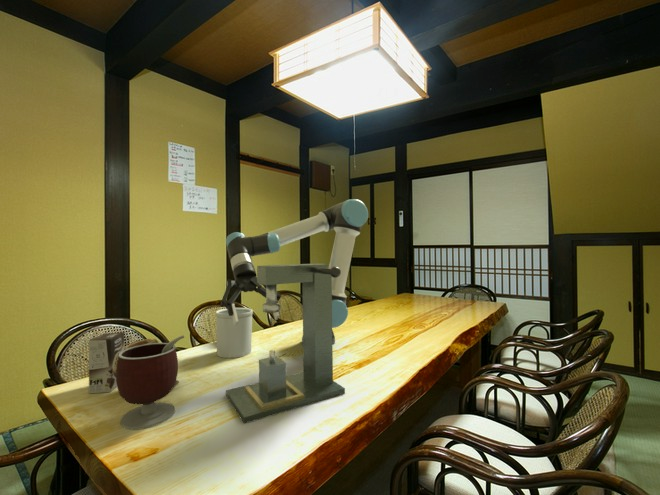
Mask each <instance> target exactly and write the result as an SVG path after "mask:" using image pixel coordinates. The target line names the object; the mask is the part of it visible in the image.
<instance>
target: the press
mask: <svg viewBox="0 0 660 495" xmlns="http://www.w3.org/2000/svg"><path fill="white" fill-rule="evenodd" d="M328 268H329V264H328V263H301V264H300V263H295V264H293V263H291V264H271V265H269V264H268V265H257V266H256V275H257V283H259V284H263V285H266V298H265V299H266V301H265V303H263V304H262V313H264V314H265V313H266V314H268V313H269V314H273V313H275V312H279V313H280V312H281V303H279V302H278V301H277V291H278V288H277V285H283V284H285V285H287V284H299V283H301V285H302V287H301V288H302V289H301V290H302V336H303V344H302V349H303V350H302V353H303V354H302V355H303V357H302V358H303V359H302V361H303V363H302V364H303V365H302V366H303V371H301V372H298V373H293V374H289V375H286V395H284V396H280V397H277V398H273V399H269V400H268V399H267V398H266V397H265V396H264V395H263V394H262V393H261V392H260V391H259V382H255V383H251V384H248V385H244V386H243V385H242V386H239V387H235V388H231V389H227V390H225V396H226V398H227V399H228V401H229V402H230V405H231V406H232V407H233V409H234V410H235V411H236V414H238V416H239V417H240V419H241V421H242V422H243V423H244V424H247V423H248V424H249V423H250V422H254V421H257V420H261V419H265V418H268V417H270V416H274V415H277V414H280V413H281V414H282V413H284V412H287V411H291V410H293V409H297V408H301V407H305V406H308V405H310V404H314V403H318V402H321V401H323V400H327V399H331V398H333V397H337V396H340V395H341V396H342V395H344V394H346V392H345V391H346V388H345V387H344V386H342V385H340V384H339V383H337V382H336V381H334V377H333V376H334V372H333V370H334V369H333V368H334V367H333V366H334V363H333V360H334V359H333V353H334V352H333V351H334V350H333V345H332V330H333V328H332V277H334V278H337V277H339V276H340V274H341V270H340V268H338V267H332V268H331V269H328ZM263 285H262V286H263ZM277 302H278V303H277Z"/></svg>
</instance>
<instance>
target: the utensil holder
mask: <svg viewBox="0 0 660 495" xmlns="http://www.w3.org/2000/svg"><path fill="white" fill-rule="evenodd" d="M235 309H236V313H237V317H238V324H237V326H234V323H233V318H232V316H229V314H228V310H227V309H226V308H223V309H222V308H221V309H218V310H216V311H215V316H216V317H215V318H216V321H215V324H216V333H215V334H216V354H217V356H218V357H219V358H224V359H235V358H236V359H237V358H240V357H245V356H248V355H250V354H251V352H252V338H253V336H252V334H253V313H254V311H253V309H252V308H249V307H235Z"/></svg>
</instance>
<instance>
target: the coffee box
mask: <svg viewBox="0 0 660 495" xmlns="http://www.w3.org/2000/svg"><path fill="white" fill-rule="evenodd" d="M124 348H125V332H122V331H121V332H120V331H119V332H118V331H117V332H107V333H102V334H100V335H98V336H96V337H94V338H93V337H92V339H90V340H88V394H98V393H99V394H102V393H111V392H113V391H114V390H115V389H116V388H117V382H116V368H117V362H118V358H119V353H120V352H122V351H123V350H124Z"/></svg>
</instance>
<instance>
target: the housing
mask: <svg viewBox="0 0 660 495" xmlns="http://www.w3.org/2000/svg"><path fill="white" fill-rule="evenodd" d="M268 352H269V353H268V355H269V357H267V358H261V359H258V383H259V391H260V392H261V393H262V394H263V395H264V396H265V397H266V398H267V399H268V400H269V399H273V398H277V397H280V396H284V395H286V376H287V363H286V362H285V361H284V360H282V359H281V358H280V357H278V356H277V355H276V350H275V349H271V350H268Z"/></svg>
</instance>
